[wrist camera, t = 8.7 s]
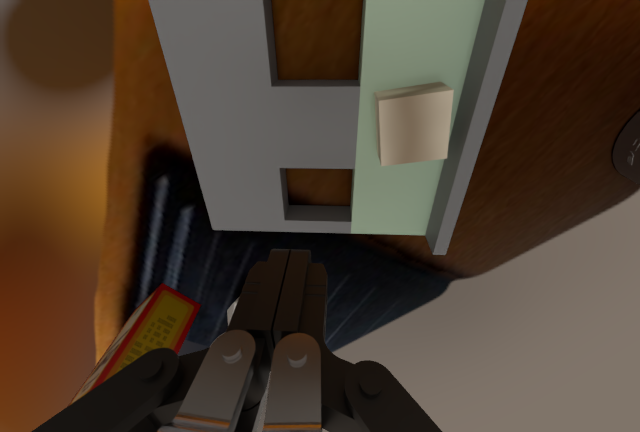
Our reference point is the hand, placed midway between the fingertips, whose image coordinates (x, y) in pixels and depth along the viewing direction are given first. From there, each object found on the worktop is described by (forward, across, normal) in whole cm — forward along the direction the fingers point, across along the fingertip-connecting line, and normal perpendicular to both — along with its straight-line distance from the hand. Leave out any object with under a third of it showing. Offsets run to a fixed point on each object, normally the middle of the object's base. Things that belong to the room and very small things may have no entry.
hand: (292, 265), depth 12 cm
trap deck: (+19, 0, 0) cm, 19 cm away
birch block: (+16, -7, -1) cm, 18 cm away
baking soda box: (+19, +25, +28) cm, 42 cm away
